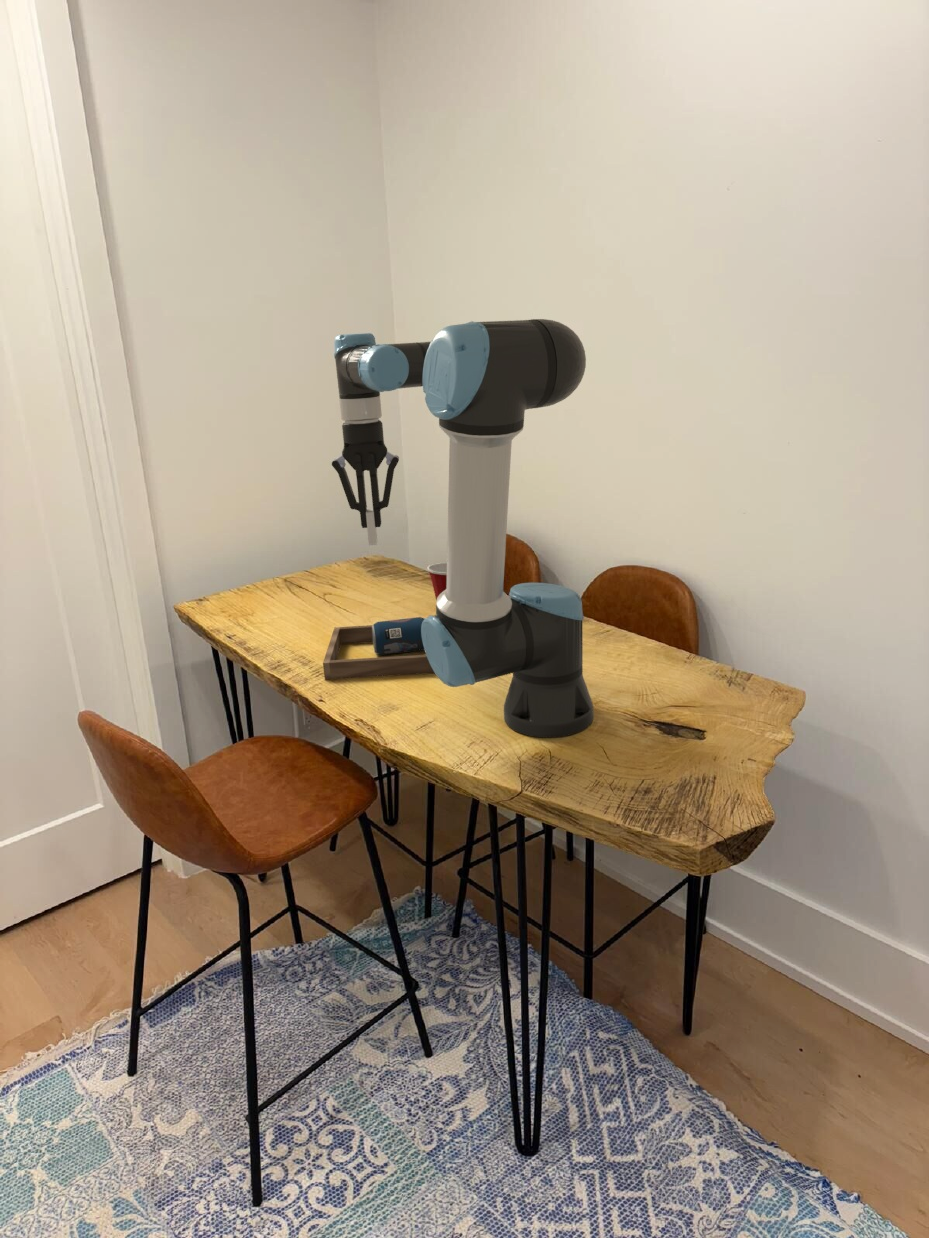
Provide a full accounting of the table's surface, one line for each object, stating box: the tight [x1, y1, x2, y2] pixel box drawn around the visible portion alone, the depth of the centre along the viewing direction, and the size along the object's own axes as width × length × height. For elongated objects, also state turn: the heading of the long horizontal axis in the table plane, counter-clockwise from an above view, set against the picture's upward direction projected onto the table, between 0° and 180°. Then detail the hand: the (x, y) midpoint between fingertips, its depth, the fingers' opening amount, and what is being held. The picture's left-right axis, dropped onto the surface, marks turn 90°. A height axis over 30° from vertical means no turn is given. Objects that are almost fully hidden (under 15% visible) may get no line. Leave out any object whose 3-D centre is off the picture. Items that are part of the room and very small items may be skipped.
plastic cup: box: [426, 562, 447, 601], centre depth 192 cm, size 11×11×12 cm
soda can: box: [371, 616, 426, 656], centre depth 174 cm, size 7×7×12 cm
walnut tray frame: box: [322, 624, 435, 681], centre depth 172 cm, size 20×25×4 cm
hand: (373, 543), depth 164 cm, fingers closed
